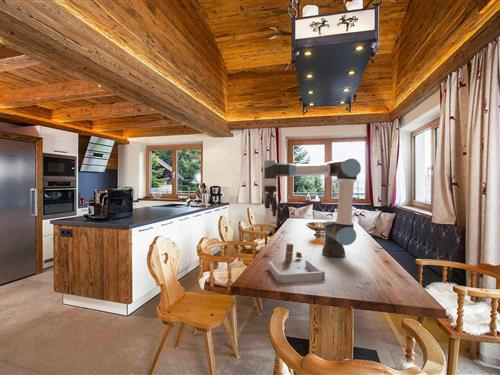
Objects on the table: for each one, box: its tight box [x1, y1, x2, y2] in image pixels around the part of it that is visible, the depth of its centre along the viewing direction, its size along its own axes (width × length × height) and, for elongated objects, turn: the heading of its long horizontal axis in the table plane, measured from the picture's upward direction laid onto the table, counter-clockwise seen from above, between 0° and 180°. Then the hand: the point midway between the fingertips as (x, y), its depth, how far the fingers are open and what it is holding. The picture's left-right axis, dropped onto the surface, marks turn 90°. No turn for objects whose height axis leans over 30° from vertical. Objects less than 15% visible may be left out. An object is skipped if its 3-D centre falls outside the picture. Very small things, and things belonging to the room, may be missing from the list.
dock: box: [268, 259, 326, 284], centre depth 137 cm, size 24×22×4 cm
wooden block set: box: [284, 243, 303, 265], centre depth 158 cm, size 18×9×10 cm, turn 151°
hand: (270, 220), depth 155 cm, fingers open, 13 cm apart
